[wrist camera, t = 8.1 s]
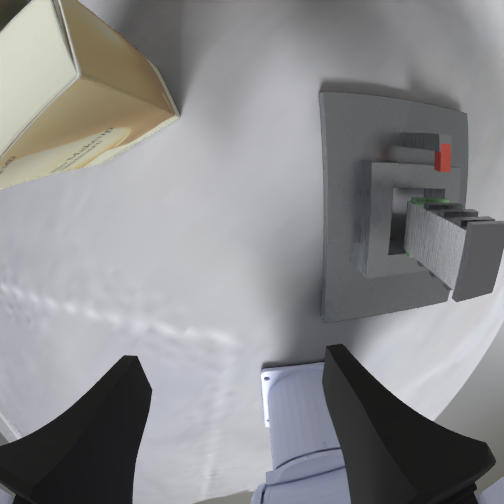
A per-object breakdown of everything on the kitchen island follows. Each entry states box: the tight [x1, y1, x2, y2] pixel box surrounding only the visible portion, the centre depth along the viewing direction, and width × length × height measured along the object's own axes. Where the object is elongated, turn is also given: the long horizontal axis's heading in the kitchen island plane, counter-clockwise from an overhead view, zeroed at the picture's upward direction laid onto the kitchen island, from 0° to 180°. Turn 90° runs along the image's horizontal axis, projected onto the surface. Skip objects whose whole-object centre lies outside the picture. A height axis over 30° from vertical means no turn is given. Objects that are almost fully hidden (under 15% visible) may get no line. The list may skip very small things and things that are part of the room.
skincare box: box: [0, 0, 180, 190], centre depth 10 cm, size 6×4×12 cm
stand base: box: [319, 92, 468, 323], centre depth 16 cm, size 16×12×5 cm
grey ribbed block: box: [403, 197, 504, 302], centre depth 12 cm, size 4×3×6 cm
